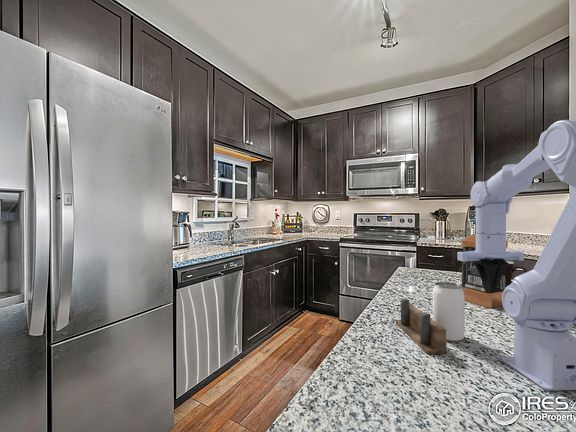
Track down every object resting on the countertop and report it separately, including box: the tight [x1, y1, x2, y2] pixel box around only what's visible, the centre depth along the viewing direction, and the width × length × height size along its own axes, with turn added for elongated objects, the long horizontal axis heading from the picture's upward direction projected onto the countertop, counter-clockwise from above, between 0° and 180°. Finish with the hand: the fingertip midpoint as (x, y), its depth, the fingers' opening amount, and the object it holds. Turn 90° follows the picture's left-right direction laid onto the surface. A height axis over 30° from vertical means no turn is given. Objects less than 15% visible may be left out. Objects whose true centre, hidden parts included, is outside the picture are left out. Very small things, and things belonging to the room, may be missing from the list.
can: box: [432, 281, 466, 342], centre depth 66 cm, size 6×6×12 cm
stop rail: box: [395, 298, 447, 355], centre depth 65 cm, size 16×4×7 cm, turn 1°
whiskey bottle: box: [460, 221, 509, 309], centre depth 90 cm, size 10×10×32 cm
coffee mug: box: [506, 260, 528, 287], centre depth 103 cm, size 12×9×10 cm
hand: (489, 291), depth 66 cm, fingers closed
